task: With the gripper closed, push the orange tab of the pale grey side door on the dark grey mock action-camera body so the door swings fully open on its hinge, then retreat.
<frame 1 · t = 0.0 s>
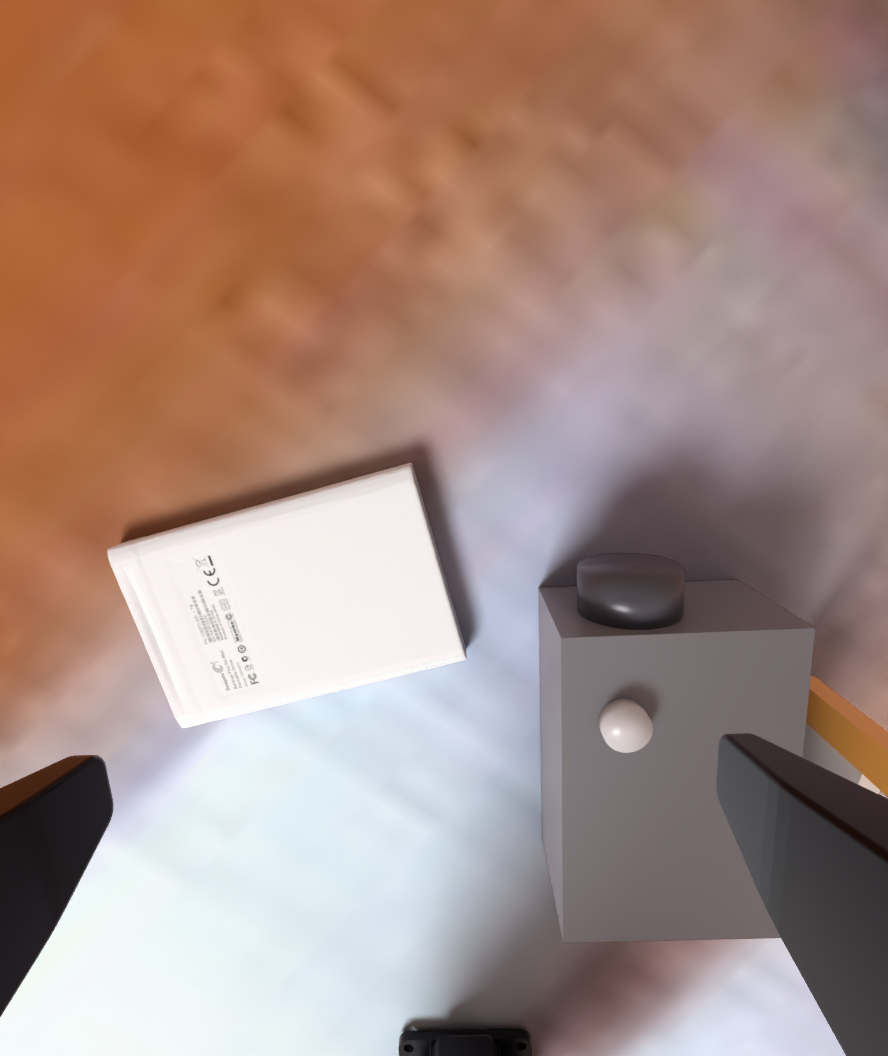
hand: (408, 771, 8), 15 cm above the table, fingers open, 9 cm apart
camera body: (634, 717, 24), on the table
side door: (833, 832, 20), point 4 cm above the table, hinge at 15.0°
external hard drive: (299, 592, 24), on the table
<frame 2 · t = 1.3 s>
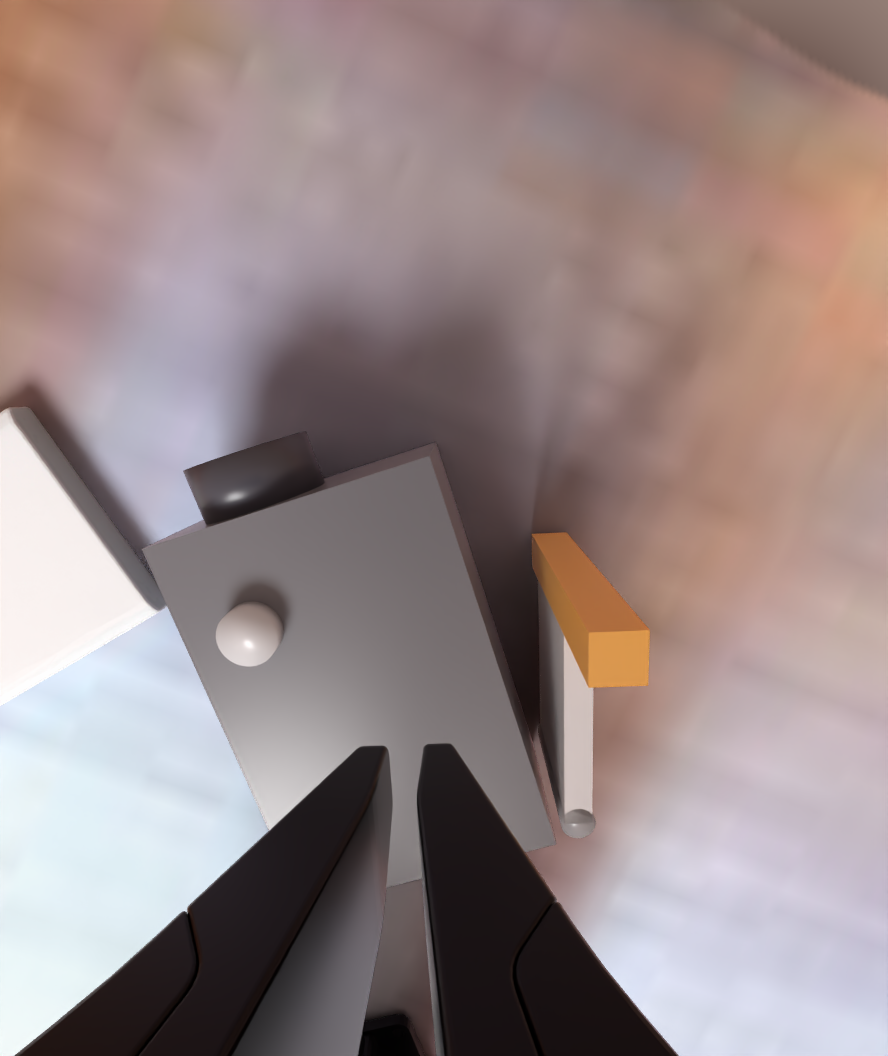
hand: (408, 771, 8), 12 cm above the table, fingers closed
camera body: (383, 632, 21), on the table
side door: (574, 703, 16), point 4 cm above the table, hinge at 15.0°
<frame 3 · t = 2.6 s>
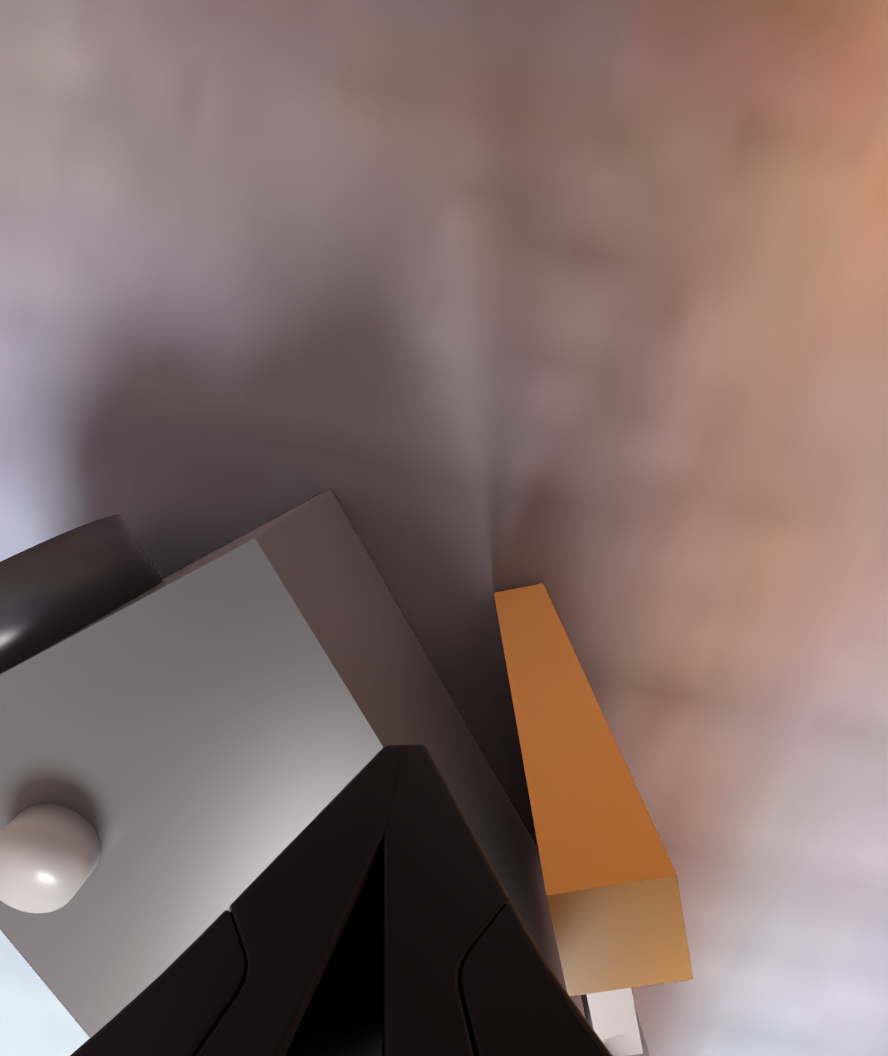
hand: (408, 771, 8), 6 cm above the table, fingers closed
camera body: (315, 757, 15), on the table
side door: (583, 872, 10), point 4 cm above the table, hinge at 15.6°, touching gripper
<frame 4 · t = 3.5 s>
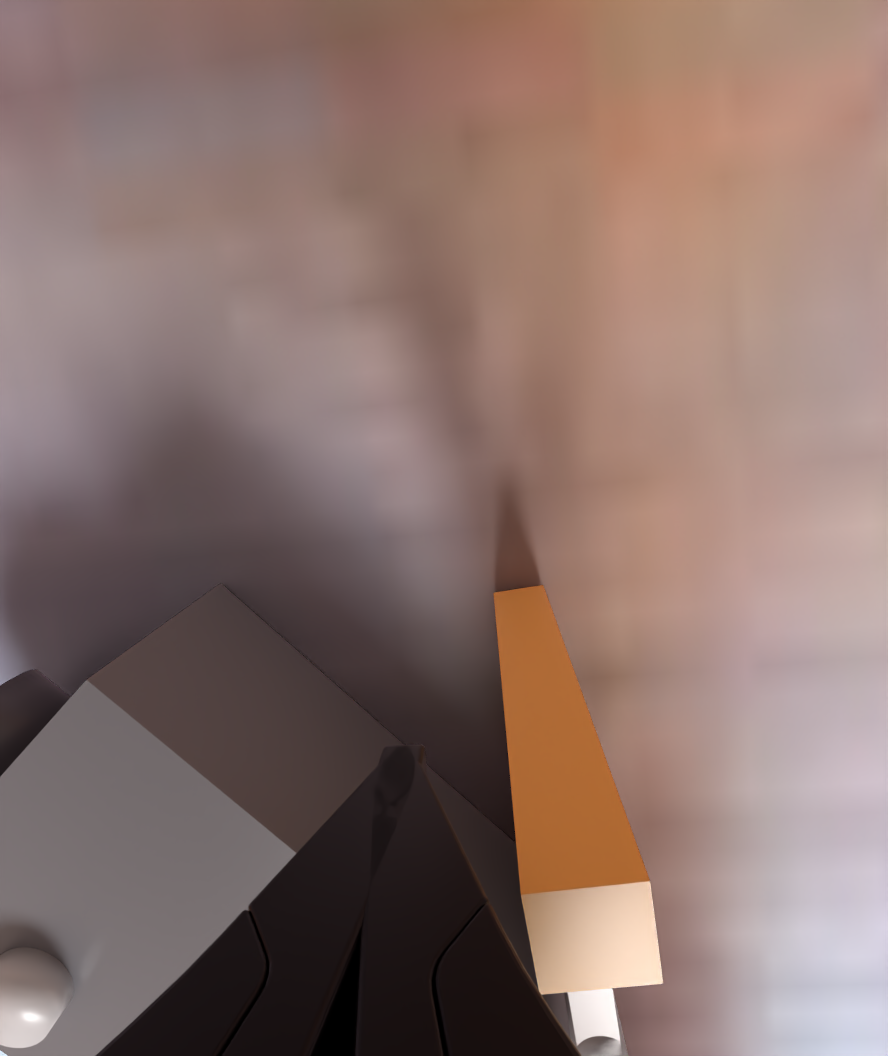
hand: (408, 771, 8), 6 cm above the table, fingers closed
camera body: (297, 825, 16), on the table
side door: (569, 873, 10), point 4 cm above the table, hinge at 35.5°, touching gripper
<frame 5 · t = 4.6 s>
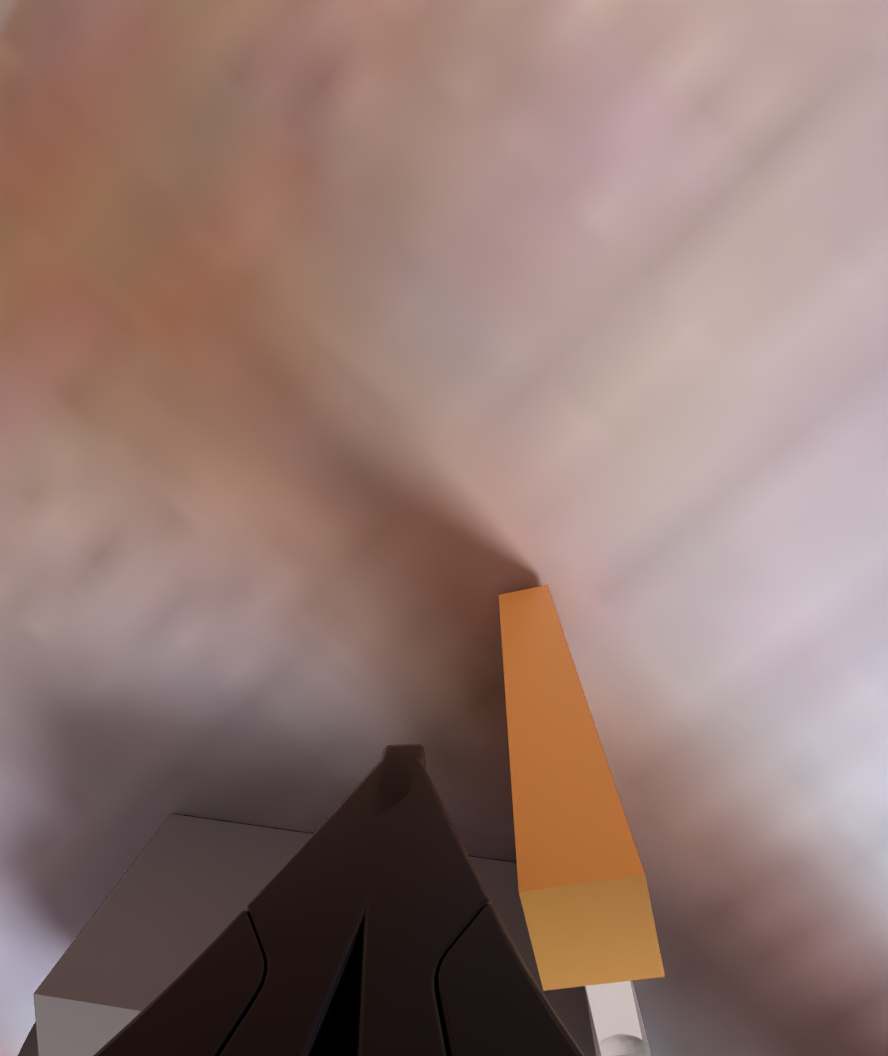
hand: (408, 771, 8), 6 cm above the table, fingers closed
camera body: (368, 956, 17), on the table
side door: (583, 872, 10), point 4 cm above the table, hinge at 70.8°, touching gripper
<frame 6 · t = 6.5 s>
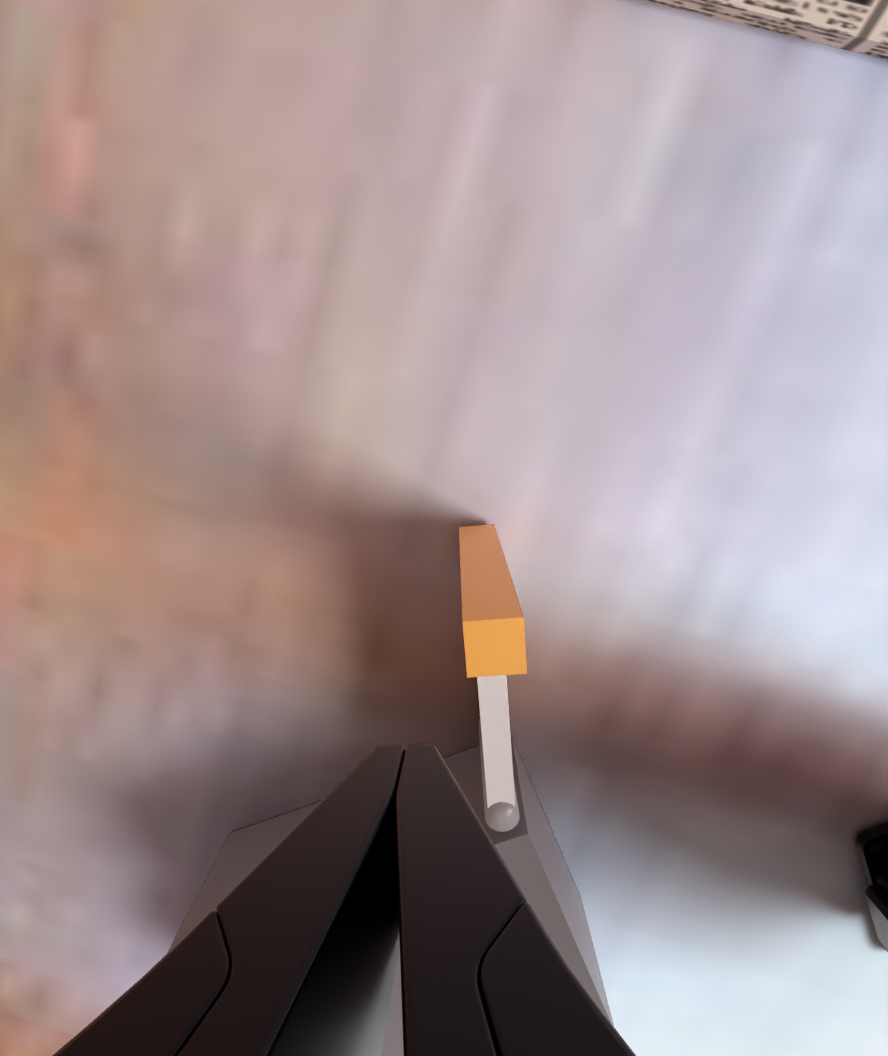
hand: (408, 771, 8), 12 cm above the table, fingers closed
camera body: (406, 865, 23), on the table
side door: (492, 695, 16), point 4 cm above the table, hinge at 107.3°
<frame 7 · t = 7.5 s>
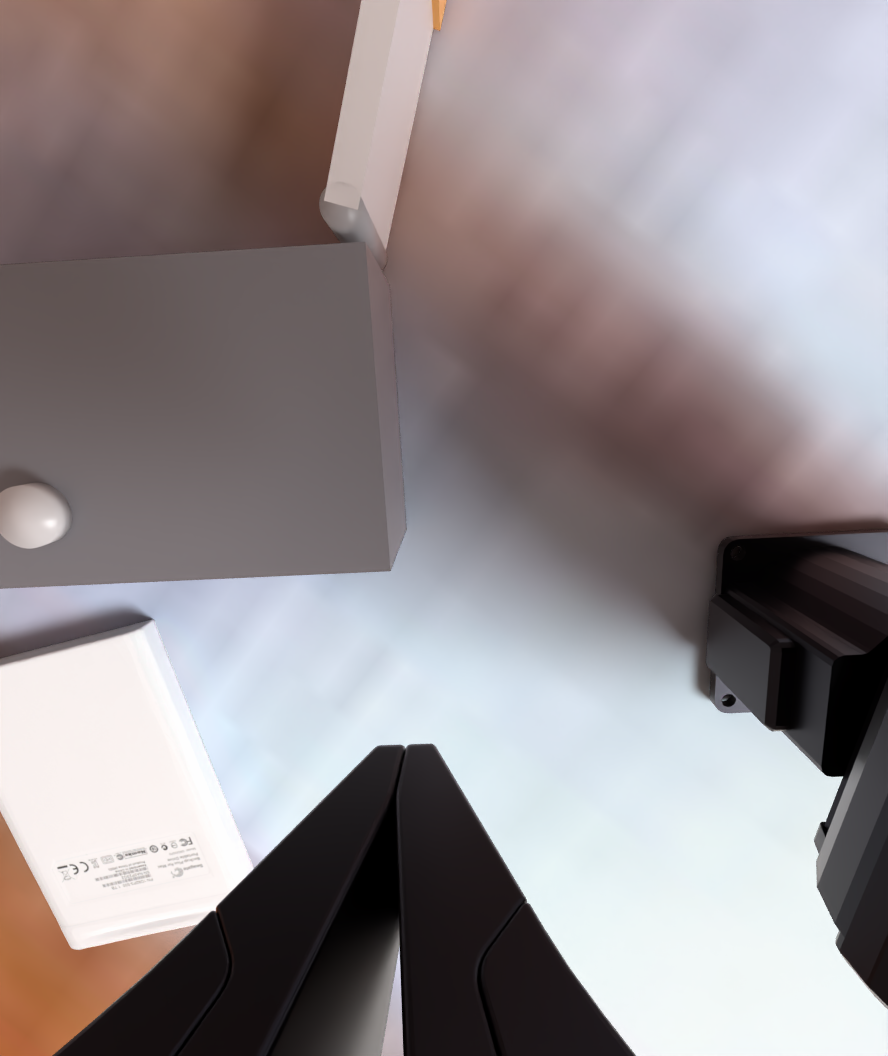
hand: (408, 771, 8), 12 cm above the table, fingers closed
camera body: (221, 422, 19), on the table
side door: (378, 45, 13), point 4 cm above the table, hinge at 107.3°
external hard drive: (125, 774, 23), on the table
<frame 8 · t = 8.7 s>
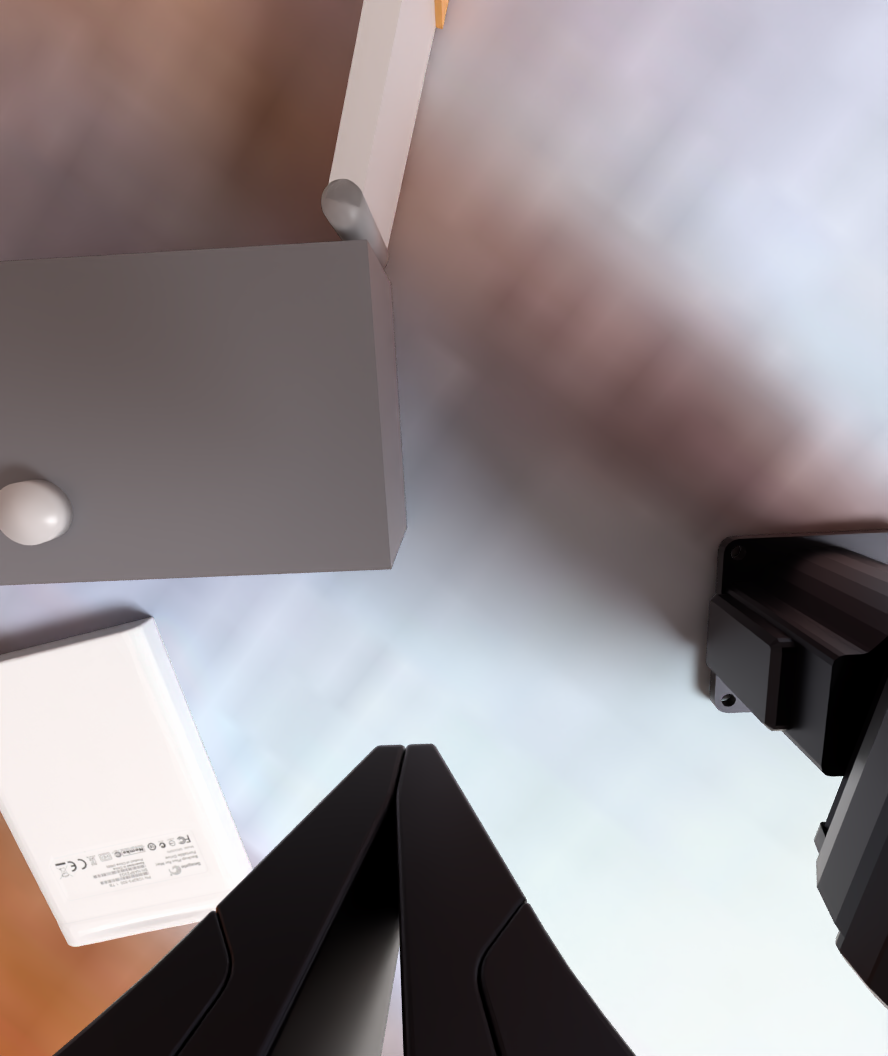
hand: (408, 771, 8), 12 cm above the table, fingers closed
camera body: (222, 420, 19), on the table
side door: (380, 43, 13), point 4 cm above the table, hinge at 107.3°
external hard drive: (124, 771, 23), on the table
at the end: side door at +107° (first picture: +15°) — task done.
